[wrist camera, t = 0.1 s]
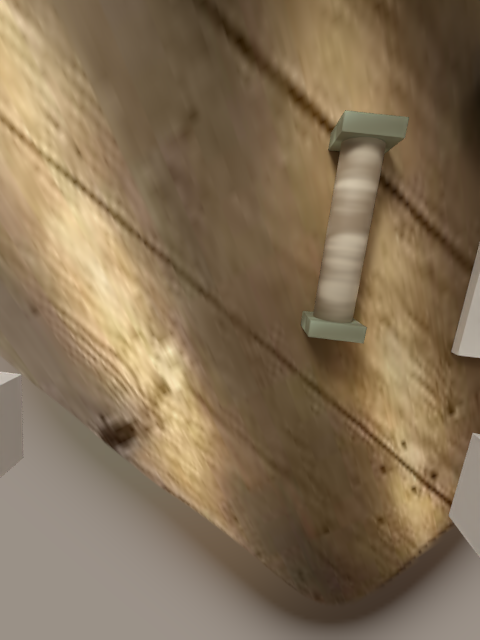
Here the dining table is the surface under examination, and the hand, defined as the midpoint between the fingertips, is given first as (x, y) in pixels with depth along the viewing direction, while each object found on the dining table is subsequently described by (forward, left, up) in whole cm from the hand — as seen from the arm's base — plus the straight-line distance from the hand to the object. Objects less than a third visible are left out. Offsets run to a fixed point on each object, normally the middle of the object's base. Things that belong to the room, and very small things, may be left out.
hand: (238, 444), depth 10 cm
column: (-8, +9, -28) cm, 30 cm away
